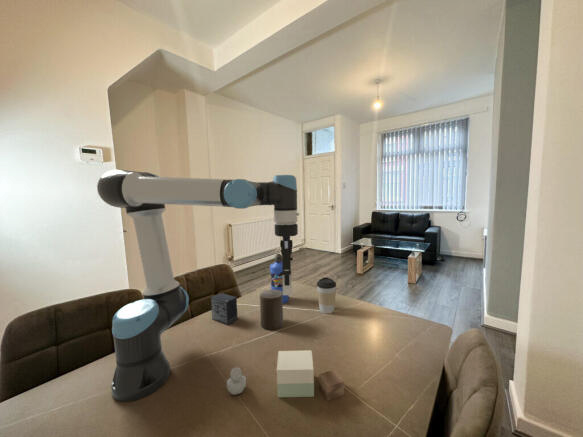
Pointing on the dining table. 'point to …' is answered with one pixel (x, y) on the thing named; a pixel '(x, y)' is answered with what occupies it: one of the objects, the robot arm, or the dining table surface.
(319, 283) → the coffee cup
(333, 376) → the brick
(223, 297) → the small box
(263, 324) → the pillar candle
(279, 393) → the cream and green box
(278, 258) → the blue plastic bottle
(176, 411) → the dining table surface
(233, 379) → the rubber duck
